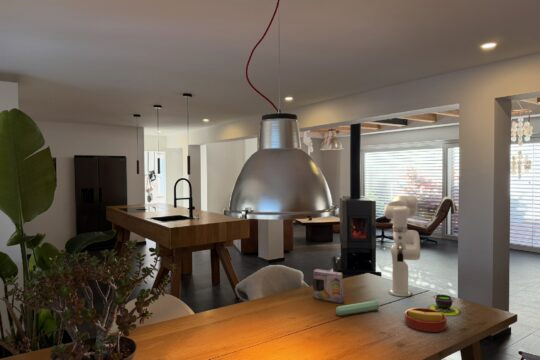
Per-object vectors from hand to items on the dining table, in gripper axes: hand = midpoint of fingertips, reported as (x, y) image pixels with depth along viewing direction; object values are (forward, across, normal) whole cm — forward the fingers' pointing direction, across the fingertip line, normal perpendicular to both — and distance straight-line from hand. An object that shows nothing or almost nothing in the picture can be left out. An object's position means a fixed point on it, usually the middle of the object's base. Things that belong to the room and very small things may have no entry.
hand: (400, 259), depth 212 cm
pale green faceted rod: (+28, -13, +23) cm, 39 cm away
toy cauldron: (+28, +5, -23) cm, 37 cm away
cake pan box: (+28, +3, +42) cm, 51 cm away
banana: (+26, -18, -12) cm, 33 cm away
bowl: (+28, -19, -12) cm, 36 cm away
